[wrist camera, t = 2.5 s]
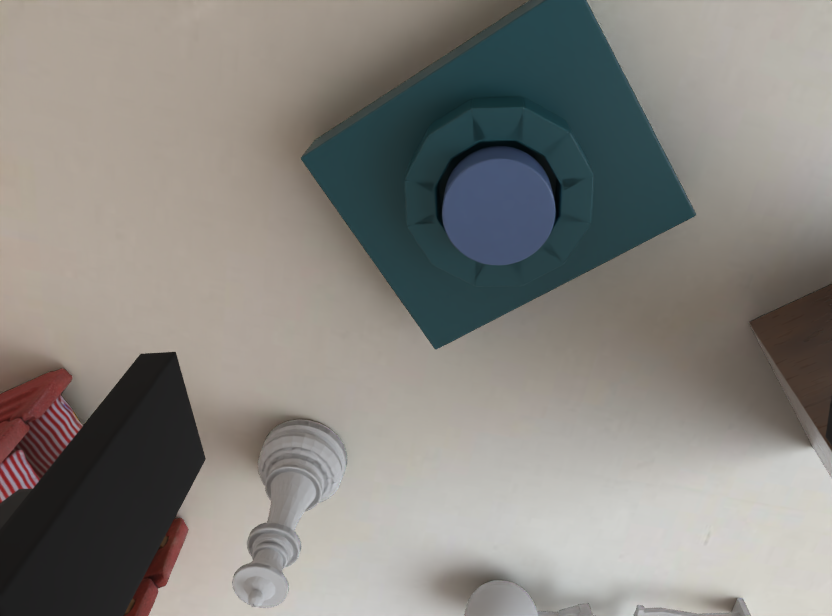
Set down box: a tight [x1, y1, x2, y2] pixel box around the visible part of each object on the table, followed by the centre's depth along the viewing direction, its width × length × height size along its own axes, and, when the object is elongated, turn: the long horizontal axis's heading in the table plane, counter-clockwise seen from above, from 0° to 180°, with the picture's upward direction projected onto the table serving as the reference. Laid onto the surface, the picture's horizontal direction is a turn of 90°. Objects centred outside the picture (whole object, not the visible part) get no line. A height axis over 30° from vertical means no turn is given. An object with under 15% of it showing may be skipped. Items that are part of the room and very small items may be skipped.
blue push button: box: [442, 146, 556, 265], centre depth 28 cm, size 4×4×2 cm
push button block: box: [301, 0, 696, 349], centre depth 31 cm, size 12×10×4 cm
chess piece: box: [232, 419, 347, 608], centre depth 36 cm, size 4×4×10 cm
